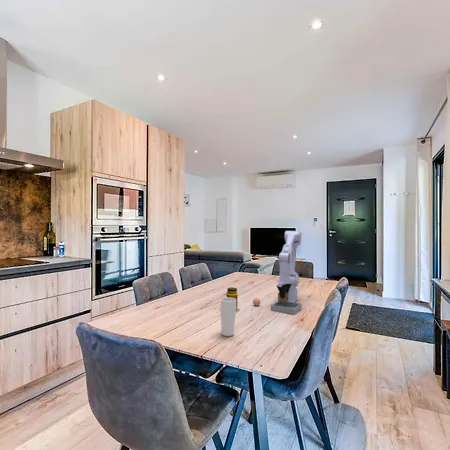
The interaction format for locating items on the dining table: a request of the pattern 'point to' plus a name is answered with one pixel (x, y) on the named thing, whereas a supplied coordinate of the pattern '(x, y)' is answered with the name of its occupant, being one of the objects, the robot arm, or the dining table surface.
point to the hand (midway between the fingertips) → (283, 297)
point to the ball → (256, 301)
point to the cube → (284, 298)
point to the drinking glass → (228, 315)
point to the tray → (286, 307)
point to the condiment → (232, 294)
